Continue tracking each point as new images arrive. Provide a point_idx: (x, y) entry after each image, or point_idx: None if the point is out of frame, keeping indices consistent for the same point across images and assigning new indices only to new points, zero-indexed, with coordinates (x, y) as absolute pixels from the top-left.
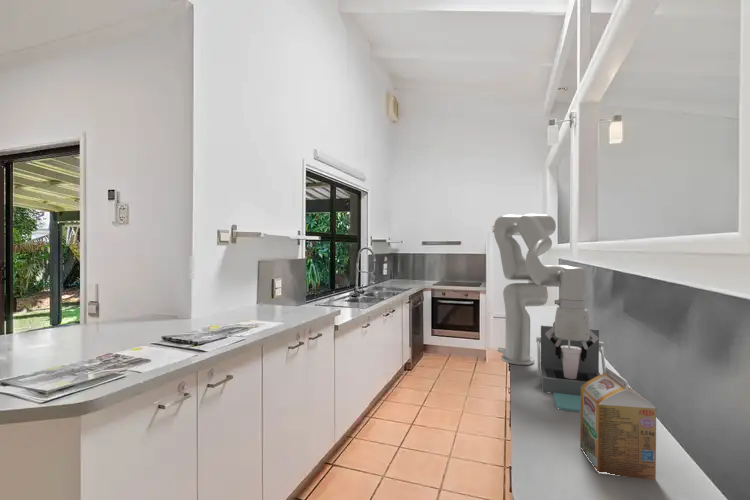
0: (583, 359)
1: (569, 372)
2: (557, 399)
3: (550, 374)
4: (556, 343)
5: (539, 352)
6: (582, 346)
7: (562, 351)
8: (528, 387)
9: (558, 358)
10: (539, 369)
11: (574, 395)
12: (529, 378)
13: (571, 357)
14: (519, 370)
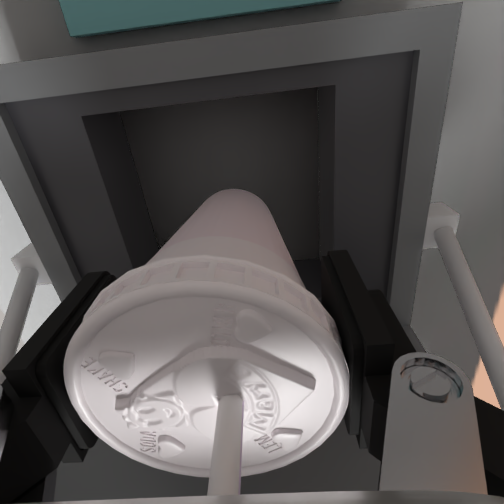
0: (90, 280)
1: (236, 198)
2: None
3: (365, 194)
4: (460, 401)
5: (497, 371)
6: (34, 439)
7: (316, 313)
8: (486, 86)
9: (344, 250)
10: (444, 231)
11: (204, 4)
12: (439, 261)
13: (204, 240)
14: (464, 355)
